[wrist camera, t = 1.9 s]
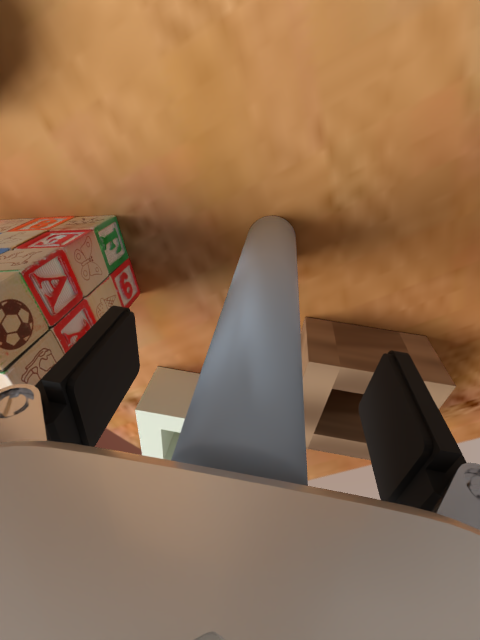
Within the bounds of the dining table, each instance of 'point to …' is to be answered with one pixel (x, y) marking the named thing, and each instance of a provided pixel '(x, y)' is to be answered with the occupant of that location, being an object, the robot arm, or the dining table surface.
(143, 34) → the dining table surface
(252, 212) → the dining table surface
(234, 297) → the light blue rod
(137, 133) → the dining table surface
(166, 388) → the white square hollow block
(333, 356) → the brown wooden square ring
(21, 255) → the stack of blocks
